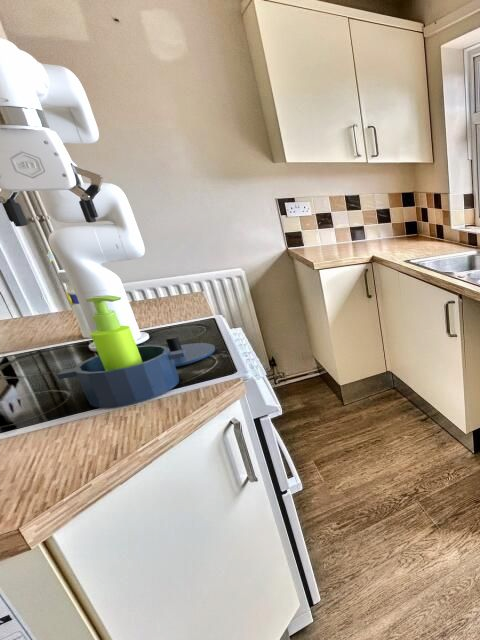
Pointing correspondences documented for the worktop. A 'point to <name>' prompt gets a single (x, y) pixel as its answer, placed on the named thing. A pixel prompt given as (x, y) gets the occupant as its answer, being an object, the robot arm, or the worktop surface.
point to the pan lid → (189, 350)
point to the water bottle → (73, 301)
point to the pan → (128, 378)
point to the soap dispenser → (113, 337)
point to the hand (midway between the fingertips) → (57, 223)
